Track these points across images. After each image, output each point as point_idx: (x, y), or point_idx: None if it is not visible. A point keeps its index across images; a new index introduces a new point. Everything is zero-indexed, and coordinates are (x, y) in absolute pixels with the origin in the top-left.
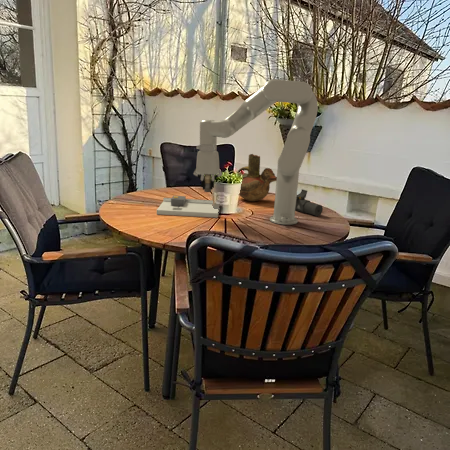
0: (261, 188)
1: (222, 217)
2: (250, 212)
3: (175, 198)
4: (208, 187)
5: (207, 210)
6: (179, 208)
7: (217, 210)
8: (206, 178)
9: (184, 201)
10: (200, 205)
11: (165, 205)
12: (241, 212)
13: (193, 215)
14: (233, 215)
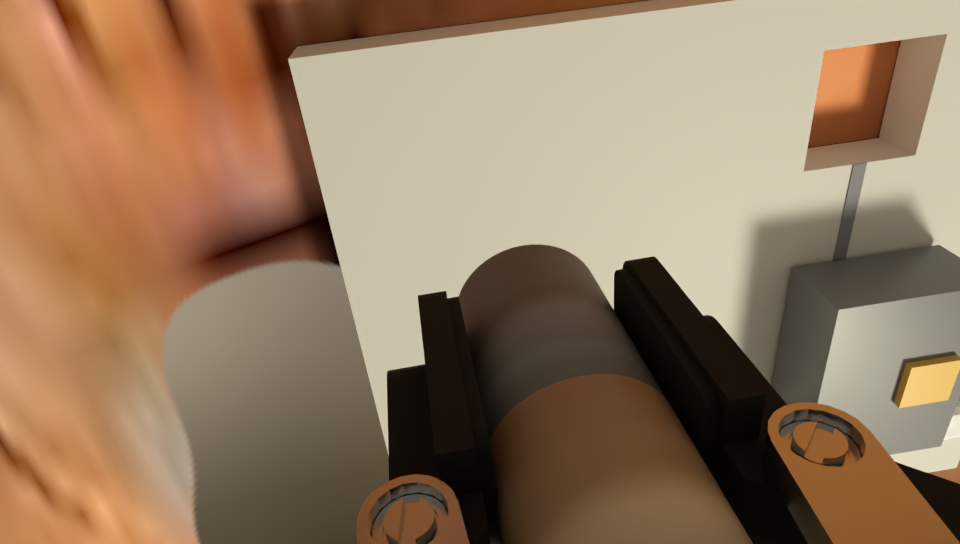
0: None
1: (239, 84)
2: (13, 422)
3: (938, 334)
4: (521, 313)
5: (472, 174)
6: (838, 165)
7: (342, 220)
8: (679, 501)
9: (795, 365)
10: None
11: None
12: (109, 388)
13: (635, 5)
14: (141, 234)
